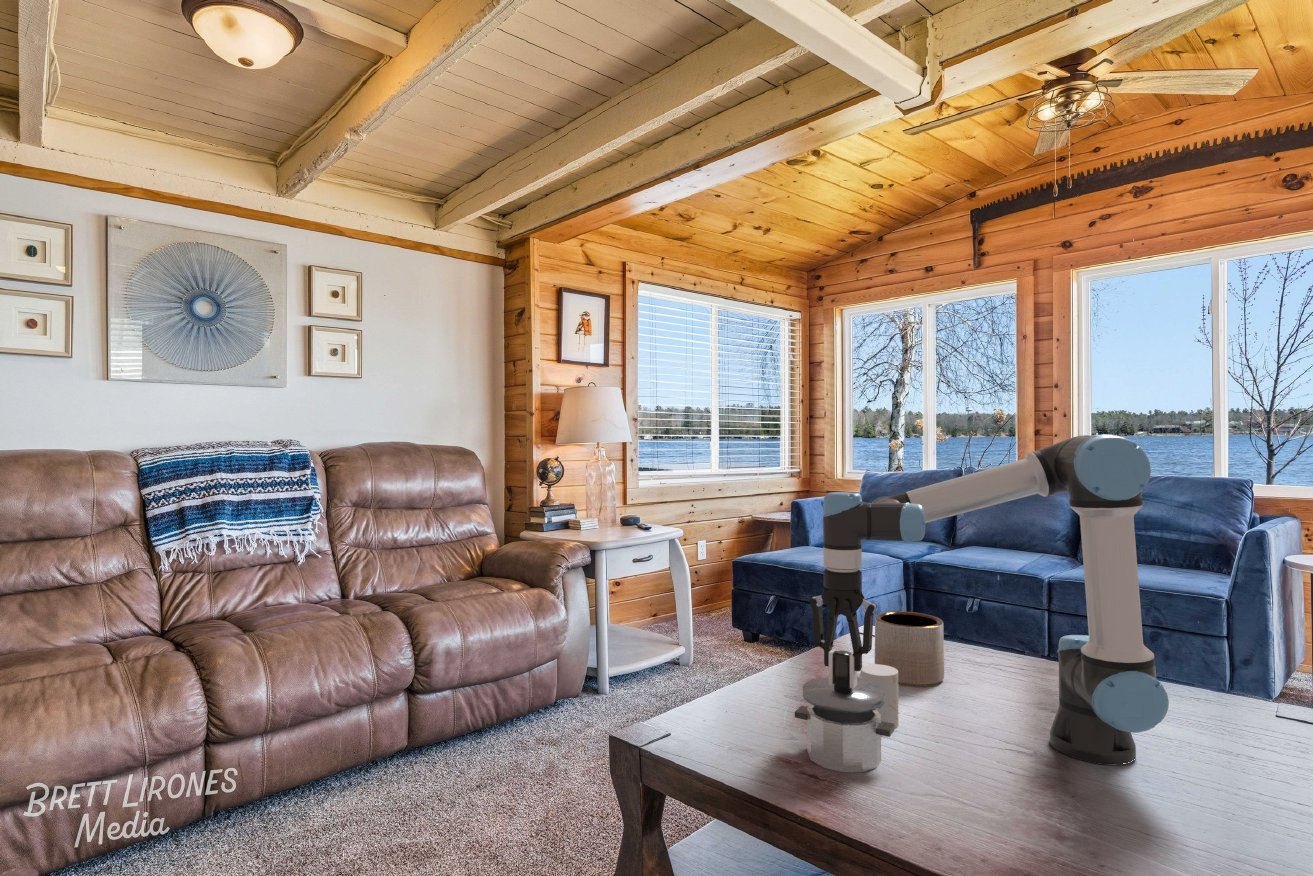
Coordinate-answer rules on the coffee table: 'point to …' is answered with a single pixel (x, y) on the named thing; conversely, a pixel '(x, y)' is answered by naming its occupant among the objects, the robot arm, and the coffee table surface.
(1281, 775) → the coffee table surface
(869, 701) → the lid
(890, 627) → the planter
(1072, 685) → the robot arm
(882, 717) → the beige cylinder
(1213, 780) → the coffee table surface
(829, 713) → the pot
